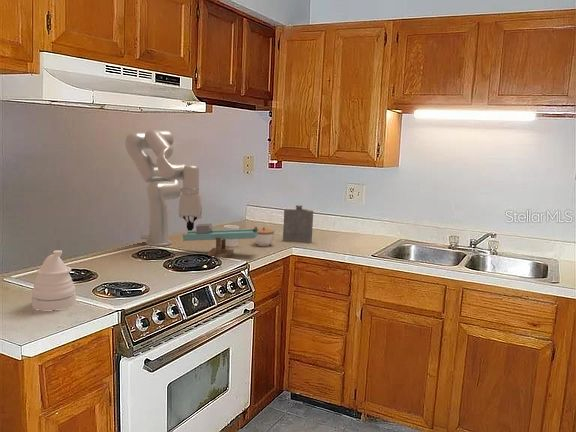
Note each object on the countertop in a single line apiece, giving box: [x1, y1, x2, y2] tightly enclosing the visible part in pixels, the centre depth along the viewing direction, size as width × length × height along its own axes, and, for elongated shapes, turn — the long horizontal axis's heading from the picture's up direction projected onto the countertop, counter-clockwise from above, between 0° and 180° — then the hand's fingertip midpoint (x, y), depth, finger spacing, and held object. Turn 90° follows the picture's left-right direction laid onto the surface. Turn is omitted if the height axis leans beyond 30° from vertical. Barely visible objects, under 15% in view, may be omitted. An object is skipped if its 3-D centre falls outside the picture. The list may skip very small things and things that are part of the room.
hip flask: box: [282, 204, 314, 244], centre depth 279 cm, size 16×4×20 cm, turn 80°
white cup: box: [223, 224, 240, 248], centre depth 263 cm, size 8×8×10 cm
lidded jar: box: [253, 226, 275, 247], centre depth 268 cm, size 11×11×9 cm
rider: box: [195, 223, 213, 234], centre depth 243 cm, size 6×6×4 cm
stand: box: [206, 237, 235, 259], centre depth 243 cm, size 10×13×9 cm
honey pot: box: [31, 249, 77, 310], centre depth 165 cm, size 13×13×18 cm
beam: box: [182, 226, 259, 242], centre depth 243 cm, size 34×10×5 cm, turn 85°
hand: (190, 230), depth 243 cm, fingers closed
